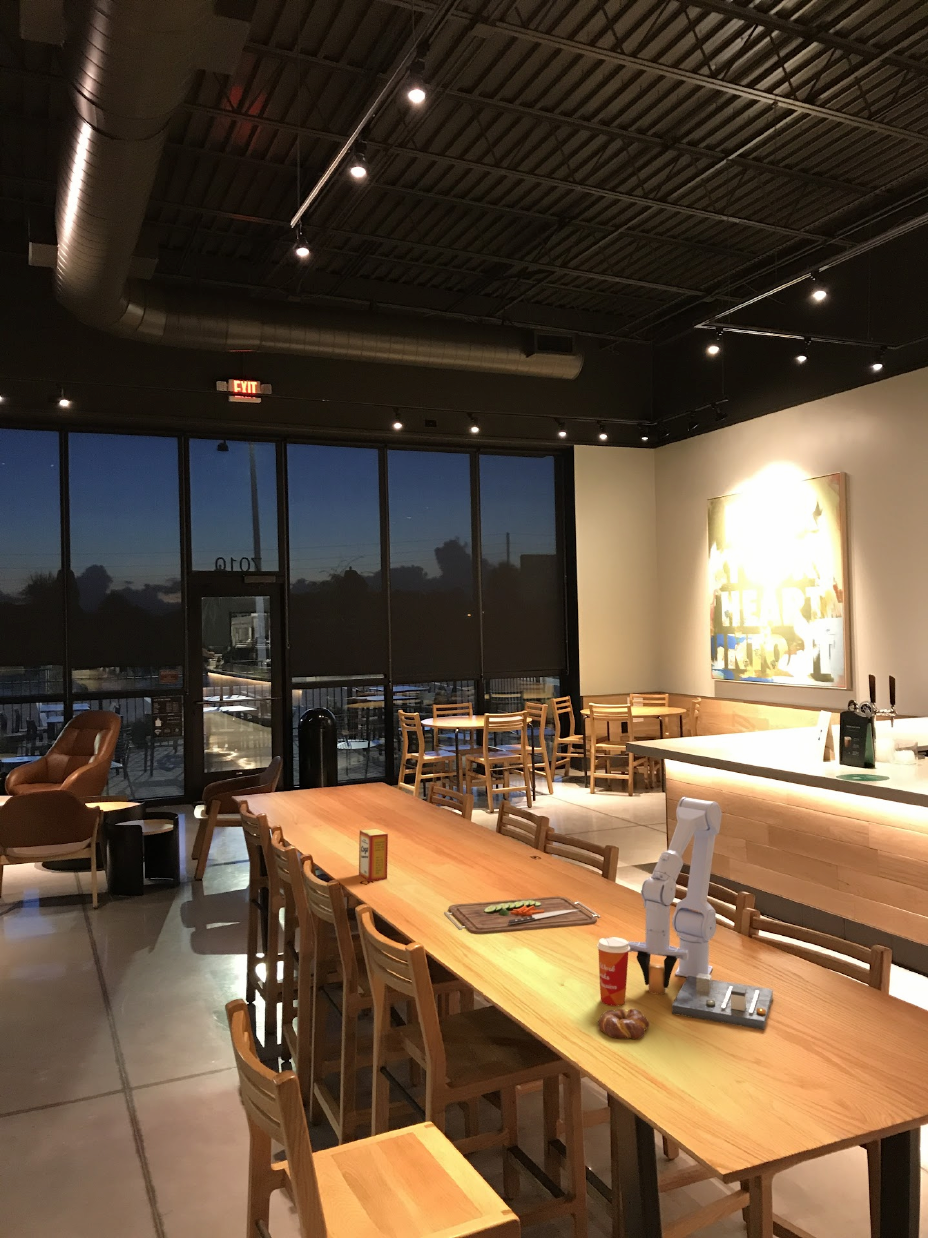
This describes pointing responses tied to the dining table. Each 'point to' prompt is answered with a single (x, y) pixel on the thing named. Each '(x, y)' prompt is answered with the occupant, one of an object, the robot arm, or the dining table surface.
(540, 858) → the dining table surface
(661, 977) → the cap
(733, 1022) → the panel
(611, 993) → the paper cup
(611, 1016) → the pretzel
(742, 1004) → the lever
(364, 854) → the baking soda box
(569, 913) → the chopping board
